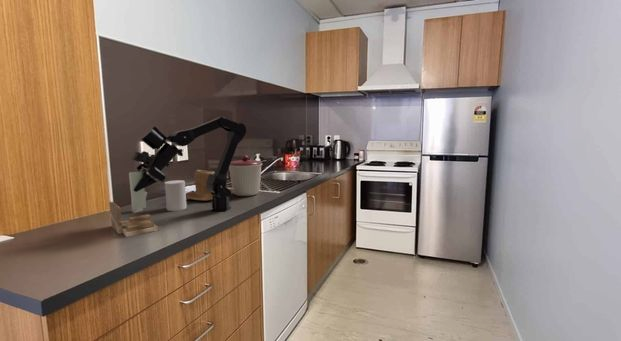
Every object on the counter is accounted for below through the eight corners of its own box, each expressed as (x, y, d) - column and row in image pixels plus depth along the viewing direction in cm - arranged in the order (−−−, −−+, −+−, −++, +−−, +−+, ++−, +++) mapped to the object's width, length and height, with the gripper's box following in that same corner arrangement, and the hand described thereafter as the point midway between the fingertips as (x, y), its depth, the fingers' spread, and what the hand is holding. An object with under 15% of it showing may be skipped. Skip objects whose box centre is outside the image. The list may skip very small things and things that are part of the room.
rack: (144, 220, 123) (143, 197, 122) (158, 230, 110) (156, 205, 109) (111, 226, 116) (109, 202, 114) (122, 237, 103) (119, 210, 102)
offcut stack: (150, 224, 113) (150, 213, 113) (154, 226, 110) (153, 215, 110) (125, 229, 108) (124, 217, 108) (128, 232, 105) (127, 220, 105)
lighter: (134, 212, 134) (133, 194, 133) (131, 212, 135) (130, 193, 134) (148, 208, 141) (147, 191, 140) (146, 208, 141) (144, 190, 140)
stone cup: (222, 198, 160) (220, 169, 158) (205, 203, 149) (203, 172, 147) (199, 196, 166) (198, 167, 164) (181, 200, 156) (179, 170, 154)
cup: (189, 206, 144) (188, 180, 143) (180, 211, 136) (179, 183, 135) (172, 206, 145) (171, 180, 143) (163, 210, 137) (160, 183, 135)
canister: (237, 190, 180) (236, 153, 177) (268, 191, 176) (267, 153, 173) (222, 197, 162) (220, 156, 159) (256, 198, 159) (254, 156, 156)
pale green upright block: (144, 205, 118) (140, 171, 116) (146, 207, 116) (143, 172, 114) (132, 207, 116) (128, 172, 114) (134, 209, 113) (130, 173, 112)
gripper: (138, 142, 122) (108, 174, 116) (152, 144, 108) (119, 179, 103) (161, 161, 128) (134, 191, 123) (178, 164, 115) (147, 199, 109)
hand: (133, 190), depth 114 cm, fingers closed on pale green upright block, 3 cm apart
